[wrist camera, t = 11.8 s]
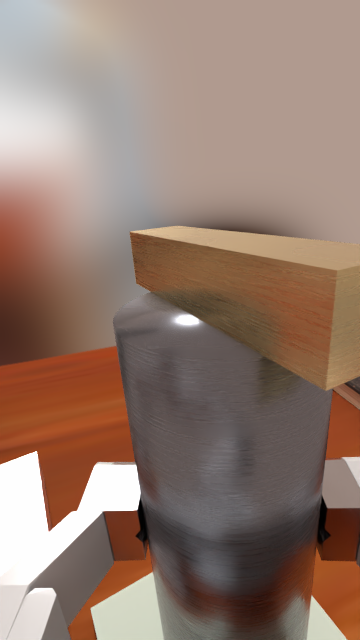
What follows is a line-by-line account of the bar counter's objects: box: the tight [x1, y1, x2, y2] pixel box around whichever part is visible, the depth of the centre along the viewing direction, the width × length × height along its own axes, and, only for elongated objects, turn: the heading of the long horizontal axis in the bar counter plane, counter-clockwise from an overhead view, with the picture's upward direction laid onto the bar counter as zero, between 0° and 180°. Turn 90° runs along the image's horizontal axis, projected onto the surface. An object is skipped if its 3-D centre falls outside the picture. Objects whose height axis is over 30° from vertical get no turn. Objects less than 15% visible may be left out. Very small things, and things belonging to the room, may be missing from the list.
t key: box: [113, 226, 360, 640], centre depth 9 cm, size 6×4×13 cm
